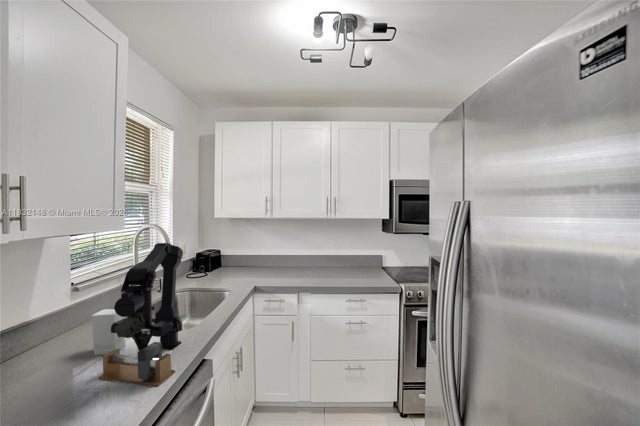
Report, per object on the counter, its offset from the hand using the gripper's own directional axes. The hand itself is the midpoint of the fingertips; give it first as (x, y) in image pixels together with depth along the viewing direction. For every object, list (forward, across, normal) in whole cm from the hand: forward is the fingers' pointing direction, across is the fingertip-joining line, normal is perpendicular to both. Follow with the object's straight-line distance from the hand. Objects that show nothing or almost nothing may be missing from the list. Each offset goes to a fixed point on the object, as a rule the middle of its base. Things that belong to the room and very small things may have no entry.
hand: (142, 353), depth 99 cm
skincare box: (+8, -26, +13) cm, 30 cm away
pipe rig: (+8, -2, 0) cm, 8 cm away
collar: (+6, +3, 0) cm, 7 cm away
